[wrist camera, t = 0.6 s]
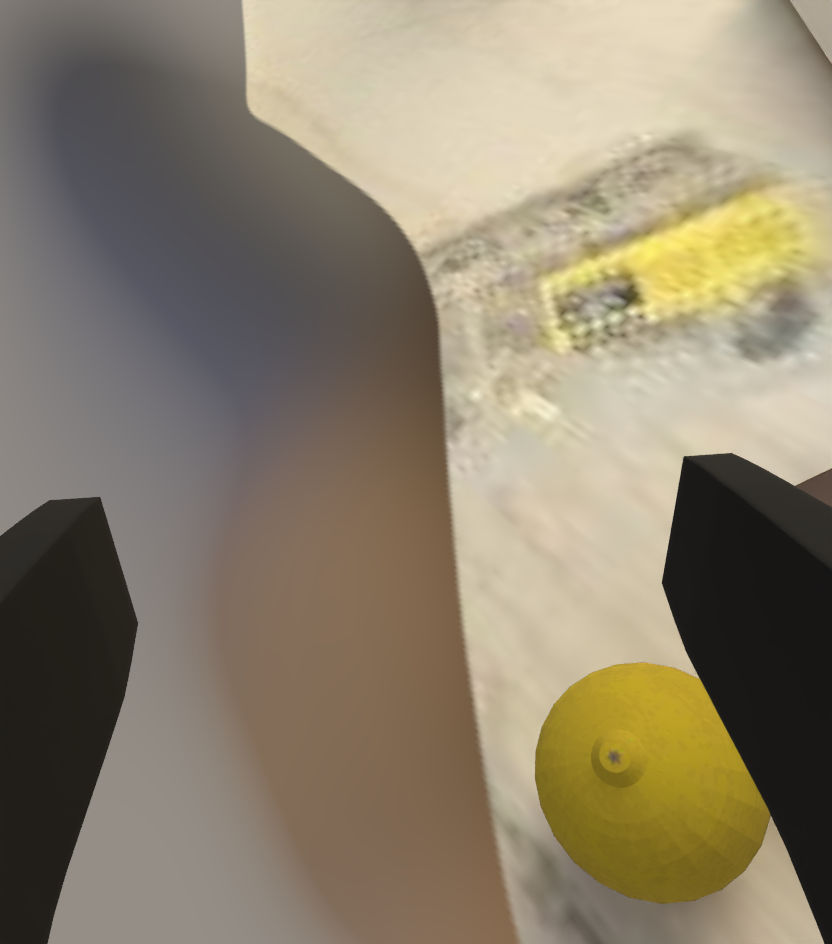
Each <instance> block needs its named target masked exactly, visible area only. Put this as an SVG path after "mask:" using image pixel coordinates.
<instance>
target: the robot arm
mask: <svg viewBox="0 0 832 944" xmlns="http://www.w3.org/2000/svg"><path fill="white" fill-rule="evenodd" d="M662 585H663V588H664V591H665V594H666V597H667V600H668V603H669V606H670V609H671V611H672V614H673V617H674V620H675V623H676V626H677V628H678V631H679V634H680V636H681V639H682V642H683V644H684V647H685V650H686V652H687V654H688V656H689V658H690V660H691V662H692V664H693V666H694V668H695V670H696V672H697V674H698V676H699V678H700V680H701V682H702V684H703V686H704V688H705V690H706V692H707V694H708V695H709V697H710V699H711V701H712V703H713V705H714V707H715V709H716V711H717V713H718V715H719V717H720V719H721V720H722V722H723V724H724V726H725V728H726V730H727V732H728V734H729V736H730V738H731V739H732V741H733V743H734V745H735V747H736V749H737V751H738V753H739V755H740V757H741V759H742V760H743V762H744V764H745V766H746V768H747V770H748V772H749V774H750V776H751V778H752V779H753V781H754V783H755V785H756V787H757V789H758V791H759V793H760V795H761V797H762V799H763V800H764V802H765V804H766V806H767V808H768V810H769V812H770V814H771V816H772V819H773V821H774V823H775V825H776V827H777V829H778V831H779V833H780V835H781V838H782V840H783V842H784V844H785V846H786V848H787V851H788V853H789V856H790V858H791V861H792V863H793V866H794V868H795V871H796V873H797V876H798V878H799V881H800V883H801V886H802V888H803V891H804V893H805V896H806V898H807V900H808V903H809V905H810V908H811V910H812V913H813V915H814V918H815V920H816V923H817V925H818V928H819V930H820V933H821V936H822V938H823V941H824V944H832V507H831V506H829V505H827V504H825V503H824V502H822V501H820V500H818V499H816V498H815V497H813V496H811V495H809V494H808V493H806V492H804V491H802V490H801V489H799V488H797V487H795V486H794V485H792V484H790V483H788V482H787V481H785V480H783V479H781V478H779V477H778V476H776V475H774V474H772V473H770V472H769V471H767V470H765V469H763V468H761V467H759V466H757V465H755V464H753V463H751V462H749V461H748V460H745V459H743V458H741V457H739V456H737V455H735V454H732V453H727V454H713V455H698V456H684V458H683V464H682V470H681V475H680V481H679V487H678V493H677V498H676V504H675V510H674V516H673V522H672V527H671V533H670V539H669V545H668V551H667V556H666V562H665V568H664V574H663V579H662ZM137 626H138V622H137V618H136V615H135V612H134V608H133V605H132V602H131V598H130V595H129V592H128V588H127V585H126V581H125V578H124V575H123V571H122V569H121V565H120V562H119V558H118V555H117V552H116V548H115V545H114V542H113V538H112V535H111V532H110V528H109V525H108V522H107V518H106V515H105V512H104V508H103V505H102V502H101V498H100V497H92V498H79V499H63V500H49V501H48V502H46V503H45V504H43V505H42V506H40V507H39V508H37V509H36V510H34V511H33V512H31V513H30V514H29V515H27V516H26V517H25V518H23V519H22V520H20V521H19V522H18V523H16V524H15V525H14V526H13V527H11V528H10V529H9V530H7V531H6V532H5V533H4V534H2V535H1V536H0V944H47V943H48V939H49V934H50V930H51V926H52V921H53V917H54V913H55V909H56V906H57V903H58V899H59V896H60V892H61V889H62V885H63V882H64V879H65V875H66V872H67V869H68V866H69V863H70V860H71V857H72V854H73V850H74V848H75V845H76V842H77V839H78V836H79V833H80V830H81V827H82V824H83V821H84V818H85V815H86V812H87V809H88V806H89V803H90V800H91V797H92V794H93V791H94V788H95V785H96V782H97V779H98V776H99V773H100V770H101V767H102V764H103V762H104V759H105V755H106V752H107V749H108V746H109V743H110V740H111V737H112V734H113V731H114V728H115V725H116V722H117V719H118V716H119V713H120V709H121V706H122V702H123V700H124V696H125V692H126V687H127V681H128V677H129V672H130V666H131V662H132V656H133V650H134V644H135V638H136V632H137Z"/></svg>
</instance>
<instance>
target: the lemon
mask: <svg viewBox="0 0 832 944" xmlns="http://www.w3.org/2000/svg"><path fill="white" fill-rule="evenodd" d="M535 781H536V786H537V790H538V795H539V800H540V805H541V808H542V810H543V812H544V815H545V817H546V819H547V821H548V824H549V826H550V828H551V830H552V832H553V834H554V836H555V838H556V839H557V840H558V842H559V843H560V844H561V846H562V847H563V848H564V849H565V851H566V852H567V853H568V855H569V856H570V857H571V859H572V860H573V861H574V862H575V863H576V864H577V865H578V866H580V867H581V868H582V869H583V870H584V871H586V872H587V873H588V874H589V875H591V876H592V877H593V878H594V879H596V880H597V881H598V882H599V883H601V884H603V885H605V886H607V887H609V888H611V889H613V890H615V891H617V892H619V893H622V894H624V895H626V896H628V897H630V898H635V899H640V900H645V901H651V902H656V903H661V904H665V903H676V902H686V901H694V900H697V899H699V898H702V897H704V896H707V895H709V894H712V893H714V892H717V891H719V890H721V889H723V888H724V887H725V886H727V885H728V884H729V883H730V882H732V881H733V880H734V879H735V878H737V877H738V876H739V875H740V874H741V873H743V872H744V871H745V870H746V868H747V867H748V865H749V864H750V862H751V861H752V859H753V858H754V856H755V855H756V853H757V852H758V850H759V849H760V847H761V845H762V842H763V839H764V836H765V832H766V829H767V826H768V823H769V819H770V812H769V810H768V808H767V806H766V804H765V802H764V800H763V799H762V797H761V795H760V793H759V791H758V789H757V787H756V785H755V783H754V781H753V779H752V778H751V776H750V774H749V772H748V770H747V768H746V766H745V764H744V762H743V760H742V759H741V757H740V755H739V753H738V751H737V749H736V747H735V745H734V743H733V741H732V739H731V738H730V736H729V734H728V732H727V730H726V728H725V726H724V724H723V722H722V720H721V719H720V717H719V715H718V713H717V711H716V709H715V707H714V705H713V703H712V701H711V699H710V697H709V695H708V694H707V692H706V690H705V688H704V686H703V684H702V682H701V680H700V679H698V678H696V677H694V676H692V675H689V674H687V673H685V672H682V671H680V670H678V669H676V668H672V667H667V666H661V665H655V664H650V663H631V664H617V665H614V666H611V667H608V668H605V669H602V670H599V671H596V672H593V673H591V674H589V675H587V676H586V677H584V678H583V679H581V680H580V681H578V682H577V683H575V684H574V685H572V686H570V688H569V689H568V690H567V691H566V692H565V693H564V694H563V695H562V696H561V697H560V698H559V700H558V701H557V702H556V703H555V704H554V705H553V707H552V709H551V711H550V713H549V715H548V716H547V718H546V720H545V722H544V724H543V726H542V729H541V733H540V737H539V740H538V744H537V748H536V759H535Z"/></svg>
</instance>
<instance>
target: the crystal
mask: <svg viewBox="0 0 832 944" xmlns="http://www.w3.org/2000/svg"><path fill="white" fill-rule="evenodd" d="M790 2H791V3H792V5H793V6H794V8H795V9H796V11H797V12H798V14H799V15H800V17H801V18H802V20H803V21H804V23H805V24H806V26H807V27H808V29H809V30H810V32H811V33H812V35H813V36H814V38H815V39H816V41H817V42H818V44H819V45H820V47H821V48H822V50H823V52H824V53H825V55H826V56H827V58H828V59H829V61H830V62H831V64H832V0H790Z"/></svg>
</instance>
